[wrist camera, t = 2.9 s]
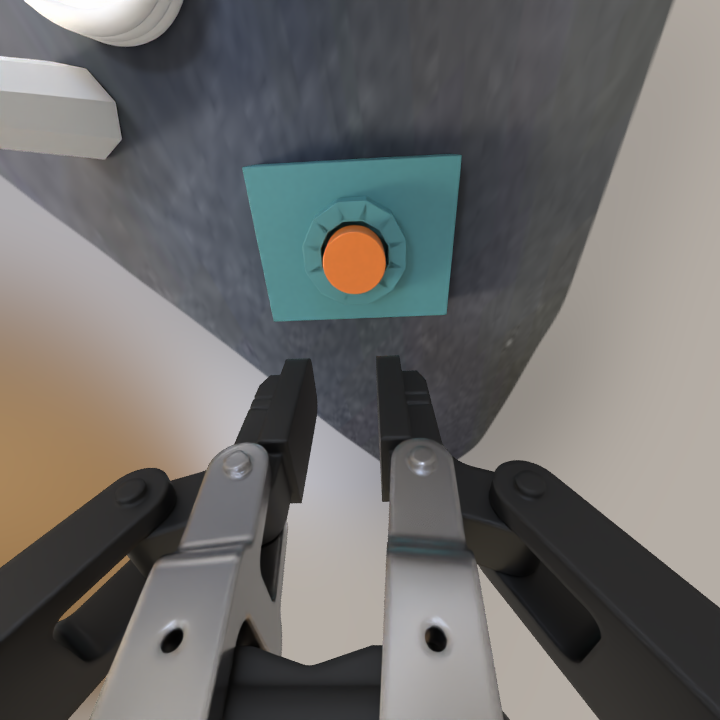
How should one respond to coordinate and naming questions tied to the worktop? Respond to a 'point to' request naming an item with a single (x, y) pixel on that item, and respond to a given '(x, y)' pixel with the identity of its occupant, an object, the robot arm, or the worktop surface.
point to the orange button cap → (354, 259)
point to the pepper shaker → (55, 110)
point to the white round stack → (112, 18)
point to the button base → (356, 207)
